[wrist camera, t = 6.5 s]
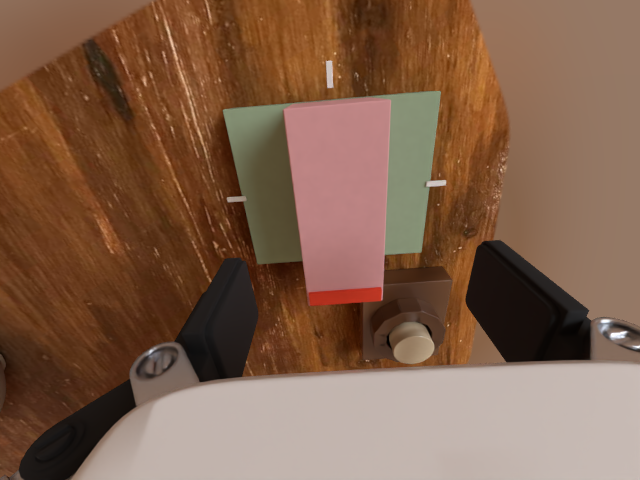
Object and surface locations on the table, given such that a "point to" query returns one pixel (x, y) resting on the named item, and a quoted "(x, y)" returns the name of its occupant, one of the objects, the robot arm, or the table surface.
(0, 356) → the bowl
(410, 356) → the button
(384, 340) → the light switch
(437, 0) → the table surface
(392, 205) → the green mat
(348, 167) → the pink bar
